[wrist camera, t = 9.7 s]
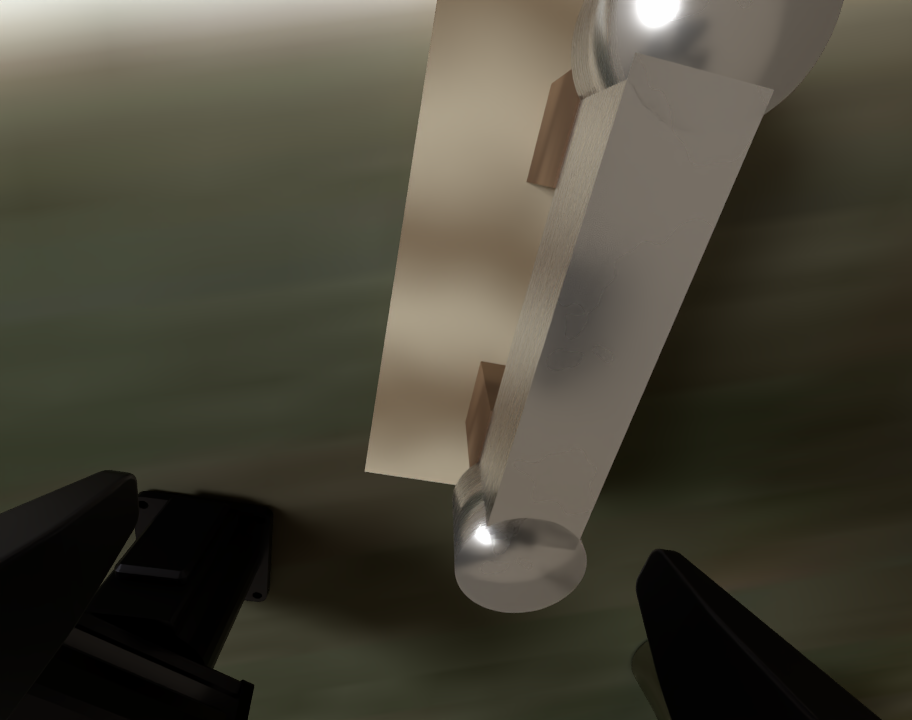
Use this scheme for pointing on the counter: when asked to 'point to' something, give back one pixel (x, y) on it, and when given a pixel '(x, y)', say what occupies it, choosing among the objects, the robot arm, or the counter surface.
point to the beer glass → (649, 681)
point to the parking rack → (471, 226)
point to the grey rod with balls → (617, 265)
